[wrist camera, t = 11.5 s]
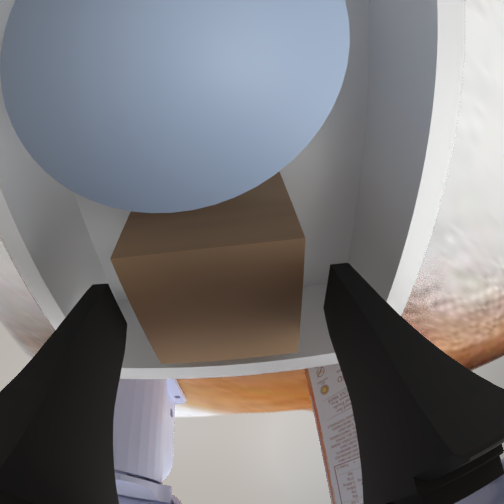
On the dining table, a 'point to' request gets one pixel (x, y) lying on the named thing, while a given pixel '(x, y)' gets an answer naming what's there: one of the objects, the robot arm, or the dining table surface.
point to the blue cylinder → (170, 93)
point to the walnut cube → (217, 277)
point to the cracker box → (336, 433)
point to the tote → (296, 182)
